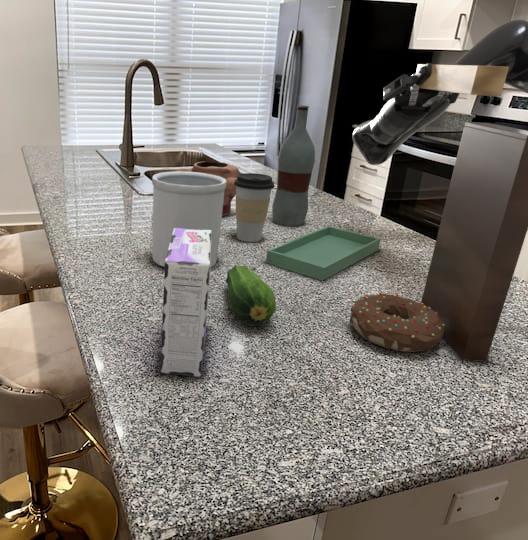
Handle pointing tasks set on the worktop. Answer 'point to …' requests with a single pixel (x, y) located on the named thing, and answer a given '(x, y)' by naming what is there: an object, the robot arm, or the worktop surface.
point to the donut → (396, 322)
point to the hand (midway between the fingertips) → (444, 69)
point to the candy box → (185, 301)
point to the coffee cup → (252, 204)
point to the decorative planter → (223, 171)
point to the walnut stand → (479, 236)
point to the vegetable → (249, 296)
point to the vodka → (294, 174)
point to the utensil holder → (186, 208)
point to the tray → (323, 252)
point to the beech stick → (466, 79)
